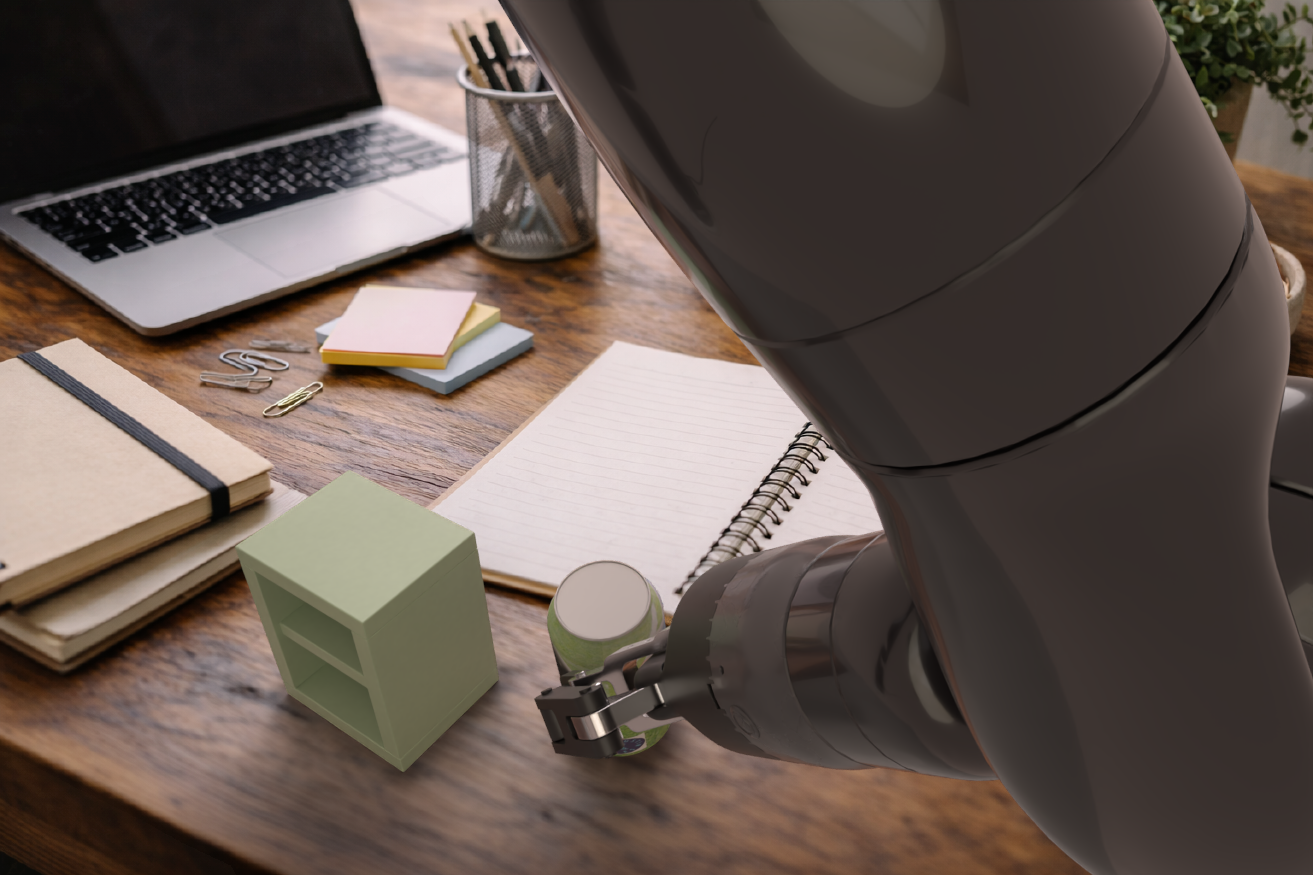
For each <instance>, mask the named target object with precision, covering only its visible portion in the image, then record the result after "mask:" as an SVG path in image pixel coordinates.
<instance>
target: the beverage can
mask: <svg viewBox="0 0 1313 875" xmlns="http://www.w3.org/2000/svg"><path fill="white" fill-rule="evenodd" d="M547 609H548V610H547V614H546V628H547V633H548V636H549V639H550V643H551V644H550V645H551V647H552V648H551V649H552V652H553V655H554V659H555V660H554V661H555V662H556V667H557V671H558V675H559V677H560V676H562V675H564V674H566V673H568V672H571V671H573V670H593V669H596V668H599V667H602V666H604V660H605V659H606V657H608V656H609V655H611V654H613V653H614V652H616V651H617V650H619V649H621V648H622V647H625V646H628V645H631V644H634V643H636V642H639V641H642V640H645V639H648V638H651V637H654V636H656V634H657V633H659V632H660V631H662V630H664V629H665V628H667V625H666V618H665V616H666V615H665V610H664V603H663V600H662V598H661V594H660V592H659V591H658V590H657V588H656V587H655V585H654V584H653V583H652V582H651V581H650V580H649V579H648V578H647V577H645V576H644V575H643V574H642V573H641V572H640V571H639V569H637V568H635V567H634V566H632V565H630V564H628V563H627V562H623V561H619V560H614V559H600V560H594V561H590V562H587V563H584V564H582V565H579V566H578V567H576V568H574V569H573V570H572V571H570V572H569V573H568V574H566V576H565V577H564V578H563V579H562V580H561V581H560V583H559V585H558V586H557V589H556V591H555V594H554V595H553V596H552V599H551V601H550V604H549V606H548V608H547ZM652 655H653V654H651V655H648V656H645V657H642V658H639V659H637V667H638V669H639V668H640V667H641V666H642V665H643V664H644V663H645V662H646V661H647V660H648V659H649V658H650V657H651V656H652ZM602 685H603V687H604V690H605V692H606V695H607V697H610V696H613V695H616V694H615V691H614V689H613V686H612V684H611V683H609V682H607V681H604V682H602ZM670 726H671V724H667V725H664V726H660V727H657V728H653V729H650V730H646V731H642V732H633V731H632V730H630V729H629V728H628V727H627V726H626V725H622V726H620V730H621V732H622V735H623V737H624V738H623V743H624V747H623V748H622V749H621V750H619V751H617V754H616V755H614V756H613V757H628V756H633V755H637V754H640V753H642V752H644V751H647V750H648V749H650V748H651V747H653V746H654V745H656V744H657V743H658V742H659V741H660V740H661V739H662V738H663V737H664V736H665V734H666V733H667V732H668V730H669V728H670Z"/></svg>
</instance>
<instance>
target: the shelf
mask: <svg viewBox="0 0 1313 875" xmlns="http://www.w3.org/2000/svg"><path fill="white" fill-rule="evenodd" d="M234 549H235V551H236V554H237V557H238V560H239V563H240V567H241V570H242V572H243V575H244V577H245V580H246V583H247V586H248V588H249V592H250V594H251V597H252V600H253V602H254V605H255V608H256V611H257V613H258V616H259V619H260V621H261V625H262V627H263V630H264V633H265V636H266V639H267V641H268V644H269V647H270V649H271V653H272V655H273V658H274V661H275V663H276V667H277V670H278V671H279V676H280V678H281V680H282V683H283V686H284V687H285V691H286V693H287V694H288V695H289V696H291V697H292V698H293V699H295V700H297V701H298V702H299V703H300V704H302V705H304V706H305V707H307V708H308V709H310V710H311V711H313V712H314V713H315V714H317V715H319V716H320V717H321V718H322V719H324V720H325V721H327V722H329V723H330V724H331V725H332V726H334V727H336V728H337V729H339V730H340V731H342V732H343V733H345V734H346V735H348V736H349V737H350V738H352V739H354V740H355V741H356V742H358V743H359V744H361V745H362V746H364V747H365V748H367V749H368V750H369V751H371V752H373V753H374V754H375V755H377V756H378V757H380V758H381V759H382V760H384V761H386V762H387V763H388V764H390V765H391V766H393V767H395V768H396V769H397V770H399V771H400V772H402V773H405V772H406V771H407V770H408V769H409V768H410V767H411V766H412V765H413V764H414V763H415V762H416V761H417V760H418V759H419V758H420V757H421V756H422V755H423V754H424V753H425V752H426V751H427V750H428V749H429V748H431V746H432V745H434V743H436V741H438V740H439V739H440V738H441V737H442V736H443V735H444V734H445V733H446V732H447V731H448V730H449V729H450V728H451V727H452V726H453V725H454V724H455V723H456V722H457V721H458V720H459V719H460V718H462V716H463V715H464V714H466V712H467V711H469V709H471V708H472V707H473V705H475V704H476V703H477V702H478V701H479V700H480V699H481V698H482V697H483V696H484V695H485V694H486V693H487V692H488V691H489V690H490V689H491V688H492V687H493V686H494V685H495V684H496V683H497V682H498V681H499V680H500V676H499V675H500V674H499V668H498V662H497V657H496V651H495V644H494V639H493V633H492V626H491V620H490V615H489V608H488V603H487V596H486V591H485V585H484V578H483V572H482V567H481V559H480V554H479V548H478V543H477V538H476V533H475V532H474V531H473V530H471V529H469V528H468V527H465V526H463V525H461V524H458V522H455V521H452V520H451V519H448V518H447V517H445V516H443V515H441V514H438V513H436V512H435V511H433V510H431V509H429V508H427V507H425V506H423V505H421V504H419V503H417V502H416V501H413V500H410V499H409V498H407V497H405V496H403V495H401V494H398V493H397V492H395V491H393V490H391V489H389V488H386V487H385V486H383V485H381V484H379V483H377V482H375V481H373V480H371V479H369V478H367V477H365V476H364V475H361V474H359V473H358V472H355V471H353V470H351V469H348V470H346V471H345V472H344V473H342V474H340V475H339V476H338V477H336V478H335V479H333V480H332V481H330V482H329V483H327V484H326V485H324V486H323V487H321V488H319V489H318V490H317V491H315V492H314V493H312V494H311V495H309V496H308V497H306V498H304V500H302V501H301V502H299V503H297V504H296V505H294V506H293V507H291V508H290V509H288V510H287V511H286V512H284V513H282V514H281V515H280V516H278V517H276V518H274V519H273V520H272V521H270V522H269V523H268V524H266V525H265V526H263V527H262V528H260V529H259V530H257V531H256V532H254V533H252V534H251V535H250V536H248V537H246V538H245V539H244V540H242V541H241V542H239V543H237V544H235V546H234Z"/></svg>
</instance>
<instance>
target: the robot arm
mask: <svg viewBox="0 0 1313 875" xmlns="http://www.w3.org/2000/svg"><path fill="white" fill-rule="evenodd" d="M497 2H498V3H499V4H500V7H501V9H503V11H504V13H505V15H506V17H507V18H508V20H509V22H510V23H511V25H512V26H513V28H514V30H515V32H516V34H517V35H518V36H519V38H520V40H521V42H522V43H523V45H524V46H525V47H526V48H525V49H527V51H528V53H529V54H530V56H531V58H532V59H533V61H534V62H535V64H536V65H537V67H538V69H539V70H540V71H541V73H542V76H543V77H544V79H545V80H546V81H547V83H548V85H549V87H550V88H551V89H552V91H553V92H554V94H555V95H556V97H557V98H558V100H559V102H560V103H561V105H562V106H563V108H564V110H565V111H566V113H567V114H568V116H569V117H570V119H571V120H572V122H573V123H574V125H575V126H576V128H577V129H578V131H579V132H580V134H581V135H582V137H583V138H584V140H585V141H586V143H587V144H588V145H589V147H590V148H591V150H592V151H593V153H594V154H595V157H596V158H597V159H598V160H599V161H600V163H601V164H602V166H603V167H604V169H605V170H606V172H607V173H608V175H609V176H610V178H611V179H612V180H613V182H614V183H615V184H616V186H617V187H618V189H619V190H620V192H621V193H622V194H623V195H624V197H625V198H626V200H627V201H628V202H629V204H630V205H631V206H632V208H633V209H634V211H635V212H636V214H637V215H638V216H639V217H640V219H641V220H642V222H643V223H644V225H645V226H646V228H648V230H649V231H650V232H651V234H652V235H653V236H654V238H656V240H657V241H658V242H659V244H660V245H661V246H662V248H663V249H664V250H665V251H666V253H667V254H668V255H669V257H670V259H672V260H673V262H674V263H675V264H676V266H677V267H678V268H679V270H681V272H682V273H683V275H685V277H686V278H687V279H688V281H689V282H690V283H691V284H692V286H693V287H694V288H695V289H696V290H697V291H698V292H699V294H700V295H701V297H703V299H704V300H705V301H706V302H707V303H708V305H709V306H710V307H711V308H712V309H713V311H714V312H715V314H717V315H718V317H719V318H720V319H721V320H722V321H723V322H724V324H725V325H726V326H727V327H728V328H729V329H730V330H731V331H732V332H733V333H734V334H735V336H736V337H737V338H738V340H740V342H741V343H742V344H743V346H745V348H746V349H748V351H749V352H750V354H752V355H753V357H754V358H755V359H756V360H757V362H758V363H759V364H760V365H761V366H762V367H763V369H764V370H765V371H766V372H767V373H768V374H769V375H770V376H771V377H772V379H773V380H774V381H775V382H776V384H777V385H778V386H779V387H780V389H781V390H782V391H783V392H784V393H785V394H786V395H787V397H788V398H789V399H790V401H792V402H793V404H794V405H795V406H796V408H798V410H799V411H800V412H801V413H802V414H803V415H804V417H805V418H806V419H807V420H808V421H809V422H810V424H811V425H812V426H813V427H814V428H815V429H816V430H817V432H818V433H819V434H820V435H821V436H822V437H823V439H825V441H826V443H828V445H829V446H830V447H831V448H832V449H833V451H834V452H835V454H836V455H837V456H838V457H839V458H840V460H842V461H843V463H844V464H845V465H847V467H848V468H849V469H850V470H851V471H852V473H853V474H855V476H856V477H857V478H858V480H860V482H861V484H863V486H864V487H865V489H866V490H867V492H868V494H869V496H870V499H871V501H872V503H873V506H874V508H875V511H876V513H877V516H878V518H879V521H880V523H881V527H882V529H880V530H875V531H871V532H867V533H863V534H836V535H835V534H833V535H824V536H818V537H813V538H809V539H805V540H800V541H796V542H793V543H789V544H785V545H780V546H777V547H772V548H768V549H765V550H759V551H756V552H753V553H752V552H751V553H749V554H745V555H741V556H736V557H733V558H729V559H727V560H724V561H722V562H719V563H717V564H716V565H714V566H712V567H710V568H709V569H707V570H706V571H704V572H703V573H702V574H701V575H699V577H697V578H696V579H695V580H694V581H693V582H692V584H691V585H689V587H688V588H687V589H686V591H685V592H684V593H683V595H682V596H681V599H680V600H679V602H678V604H677V607H676V609H675V611H674V613H673V616H672V619H671V622H670V625H668V626H666V628H665V629H664V630H662V631H660V632H659V633H657V634H656V636H654V637H651V638H648V639H645V640H642V641H639V642H636V643H634V644H631V645H628V646H625V647H622V648H621V649H619V650H617V651H616V652H614V653H613V654H611V655H609V656H608V657H606V659H605V660H604V666H602V667H599V668H596V669H593V670H573V671H571V672H568V673H566V674H564V675H562V676H560V675H559V682H560V685H559V686H558V687H555V688H553V687H547V688H545V689H544V690H541V691H540V694H539V695H537V696H536V697H534V698H533V700H534V702H535V703H534V704H535V705H536V708H537V710H539V712H540V714H541V717H542V720H543V723H544V725H545V727H546V730H547V733H548V735H549V737H550V740H551V742H550V743H551V746H552V749H553V751H554V753H555V754H558V755H564V756H570V757H577V758H578V757H579V758H586V759H592V760H600V759H610V758H613V757H615V756H614V755H616V754H617V751H619V750H621V749H622V748H623V747H624V743H623V738H624V737H623V735H622V732H621V730H620V726H622V725H626V726H627V727H628V728H629V729H630V730H632V731H633V732H642V731H646V730H650V729H653V728H657V727H660V726H664V725H667V724H670V725H671V724H675V723H677V722H681V721H686V722H688V723H689V724H690V725H691V726H692V727H693V728H695V729H696V730H697V731H698V732H699V733H700V734H702V735H703V736H704V737H705V738H707V739H708V740H709V741H711V742H713V743H714V744H716V745H717V746H720V747H721V748H723V749H725V750H728V751H730V752H733V753H737V754H740V755H744V756H751V757H756V758H761V759H767V760H774V761H781V762H787V763H791V764H792V763H793V764H800V765H805V766H810V767H816V768H822V769H827V770H828V769H829V770H838V771H863V770H873V769H883V770H889V771H897V772H903V773H909V774H914V775H915V774H916V775H922V776H928V777H937V778H942V779H950V780H957V781H967V782H991V781H999V782H1000V783H1001V784H1002V786H1003V787H1004V788H1005V790H1006V792H1007V793H1008V794H1009V795H1010V797H1011V798H1012V799H1013V801H1014V802H1015V803H1016V804H1017V806H1018V807H1019V808H1020V810H1022V812H1024V814H1026V815H1027V817H1028V818H1029V819H1030V820H1031V821H1032V822H1033V823H1034V824H1035V825H1036V827H1038V829H1039V830H1040V831H1041V832H1042V833H1043V834H1044V835H1045V836H1046V837H1047V838H1048V839H1049V840H1050V841H1051V842H1052V843H1053V844H1054V845H1056V846H1057V847H1058V849H1060V850H1061V851H1062V852H1063V853H1064V854H1065V855H1067V856H1068V857H1069V858H1070V859H1071V860H1073V861H1074V862H1075V863H1076V864H1078V865H1079V866H1080V867H1081V868H1082V869H1084V870H1085V871H1086V872H1088V873H1089V874H1090V875H1313V378H1312V377H1306V376H1299V375H1290V374H1288V373H1289V366H1290V356H1291V355H1290V354H1291V325H1290V315H1289V304H1288V301H1287V297H1286V291H1285V288H1284V283H1283V279H1282V276H1281V273H1280V269H1279V267H1278V264H1277V260H1276V258H1275V257H1276V256H1275V254H1274V251H1273V249H1272V246H1271V244H1270V241H1269V238H1268V236H1267V234H1266V230H1265V229H1264V226H1263V224H1262V221H1261V219H1260V216H1259V215H1258V213H1257V211H1256V209H1255V207H1254V205H1253V204H1252V201H1251V199H1250V197H1249V195H1248V193H1247V192H1246V190H1245V187H1244V185H1243V183H1242V181H1241V179H1240V177H1239V174H1238V173H1237V171H1236V169H1235V167H1234V165H1233V162H1232V160H1231V158H1230V156H1229V155H1228V152H1227V151H1226V148H1225V146H1224V144H1223V142H1222V140H1221V138H1220V136H1219V134H1218V132H1217V130H1216V128H1215V126H1214V124H1213V121H1212V120H1211V118H1210V115H1209V114H1208V111H1207V110H1206V108H1205V106H1204V103H1203V101H1202V99H1201V97H1200V95H1199V92H1198V91H1197V89H1196V87H1195V84H1194V83H1193V81H1192V79H1191V77H1190V75H1189V73H1188V71H1187V69H1186V67H1185V65H1184V63H1183V59H1181V56H1180V55H1179V52H1178V50H1177V48H1176V46H1175V43H1174V42H1173V40H1172V38H1171V36H1170V34H1169V32H1168V30H1167V28H1166V27H1165V23H1164V21H1163V18H1162V16H1161V15H1160V12H1159V11H1158V8H1157V7H1156V5H1155V3H1154V1H1153V0H497ZM651 654H653V655H652V656H651V657H650V658H649V659H648V660H647V661H646V662H645V663H644V664H643V665H642V666H641V667H640V668H639V669H638V667H637V659H639V658H642V657H645V656H648V655H651ZM604 681H607V682H609V683H611V684H612V686H613V689H614V691H615V694H616V695H613V696H610V697H607V695H606V692H605V690H604V687H603V685H602V682H604Z"/></svg>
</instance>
